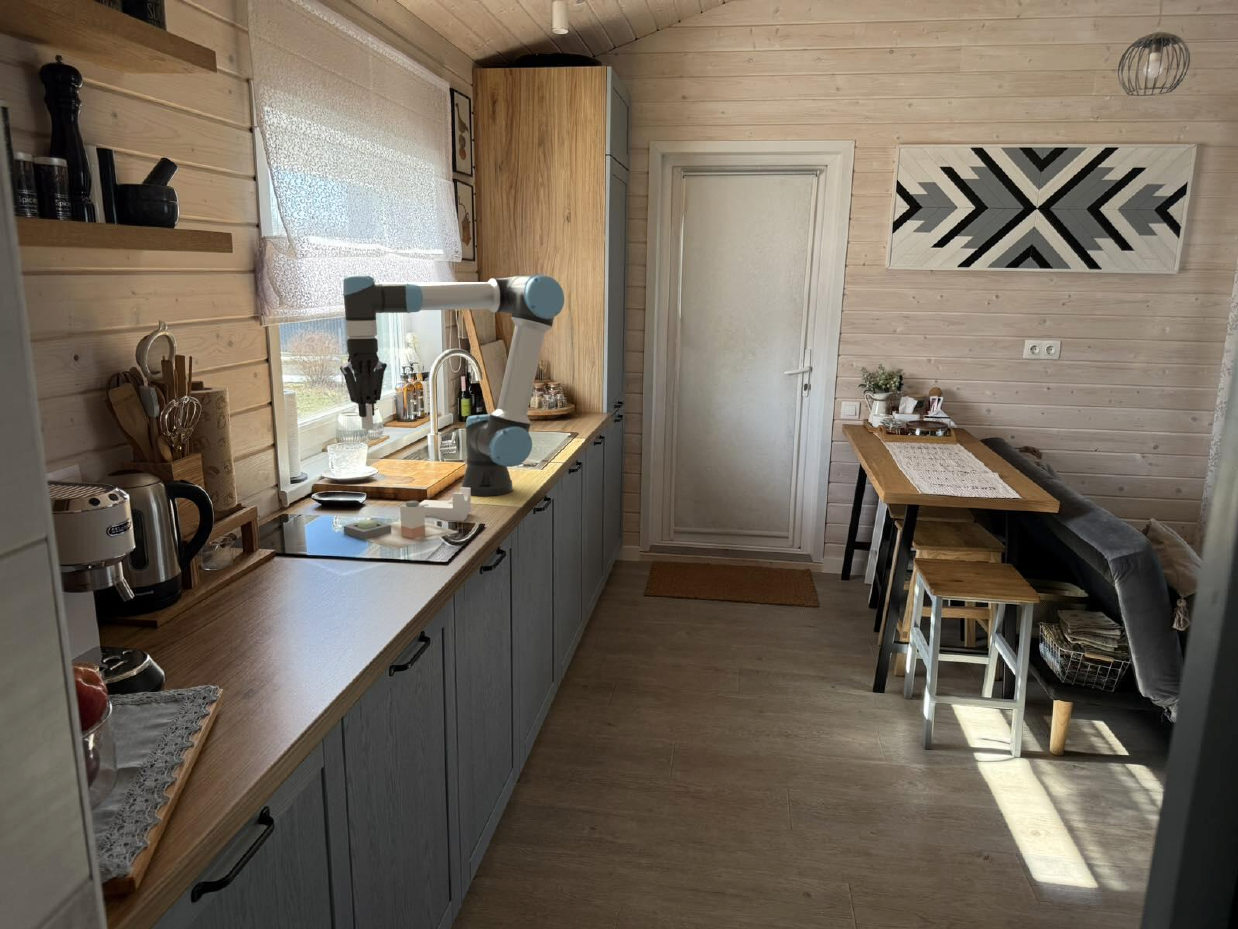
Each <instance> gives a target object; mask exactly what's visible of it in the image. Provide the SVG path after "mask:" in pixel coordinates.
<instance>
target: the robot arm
mask: <svg viewBox="0 0 1238 929" xmlns="http://www.w3.org/2000/svg"><path fill="white" fill-rule="evenodd" d="M342 283H343V288H342V289H343V294H342V295H343V300H344V301H343V302H344V303H343V304H344V313H345V316H344V317H345V333H346V336H347V337H348V338H347V339H346V348H347V349H346V350H347V353H348V358H347V363H346V364H344V365H342V366H340V367H339V370H340V372H341V373H342V375H343V378H344V381H345V384H346V388H347V392H348V394H349V398H350V402H352V403H355V404H357V405H358V406H357V407H358V415H359V417H360V418H361V429H363V430H368V431H370V430H374V422H373V421H374V418H373V416H375V414H376V413H375V405H376V404H377V403H378V402H377V401H381V397H382V390H383V383H384V378H385V377H384V376H385V372H386V371H385V370H387V366H388V365H387V363H385V362H382V361H381V360H380V359H379V358H380V357H379V356H378V352H379V346H378V345H379V343H378V342H379V341H378V340H379V339H378V338H377V337H376V336H377V335H378V326H377V324H378V323H377V314H384V313H385V314H400V313H401V314H411V313H418V312H420V311H455V310H456V311H457V310H460V311H462V310H465V311H466V310H489V311H490V312H491V313H500V314H501V313H503V314H510V315H511V321H512V322H513V324H514V330H513V333H512V334H513V335H512V338H511V343H510V347H509V352H508V357H507V362H506V366H505V371H504V376H503V381H502V386H501V388H500V394H499V399H498V403H497V407H496V409H495V410H493V411H492V412H490V414H489V413H488V414H478V415H477V414H475V415H474V414H473V415H469V416H467V418H466V419H465V420H466V421H465V440H466V443H465V444H466V446H465V447H466V467H465V472H464V476H463V480H462V482H461V487H465V488H471V496H481V497H484V496H485V497H492V496H493V497H494V496H501V495H505V494H508V493H511V492H512V491H513V482H512V479H511V475H510V472H509V469H508V467H511V468H512V467H516V466H519V465H521V464H522V463H524V462H525V461H526V460H527V459H528V458H529V456H530V454H531V452H532V450H533V440H532V437H531V435H530V433H529V432H530V427H531V420H530V419H529V416H528V412H529V407H530V406H529V405H530V402H531V398H532V395H533V394H532V393H533V387H534V384H535V379H536V375H537V371H538V366H539V361H540V357H541V353H542V348H543V343H544V339H545V334H546V333H547V332H548V331H550V330H551V329H552V328H553V324H554V320H555V318H556V317H557V316H558V315H559V314H560V313H561V311H562V310H563V308H564V305H565V294H564V293H565V292H564V290H563V288H562V287H561V284H560V283H559V282H558V281H557V280H556V279H554V278H553V277H551V276H547V275H544V274H529V275H528V274H522V275H516V276H509V277H503V278H500V277H499V278H490V279H489V280H488V281H485V282H483V281H480V282H479V281H477V282H474V281H473V282H467V281H466V282H465V281H464V282H463V281H461V282H452V281H451V282H449V281H448V282H382V281H381V282H376V281H375V278H374V276H373V275H368V274H366V275H363V274H362V275H361V274H360V275H359V274H358V275H357V274H355V275H346V276H344V278H343V282H342Z"/></svg>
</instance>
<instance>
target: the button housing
mask: <svg viewBox="0 0 1238 929" xmlns="http://www.w3.org/2000/svg"><path fill="white" fill-rule="evenodd" d="M369 520H373V519H371V518H369ZM374 520H375V519H374ZM375 521H376V522H377V527H373V528H369V529H362V528H358V522H353V523H350V524H346V525H343V534H344V535H346V536H350V537H353V538H356V539H359V540H364V541H367V540H366V539H370V538H374V537H377V536H381V535H385V534H389V533H391V525H389V523H385V522H382V521H378V520H375Z"/></svg>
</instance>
